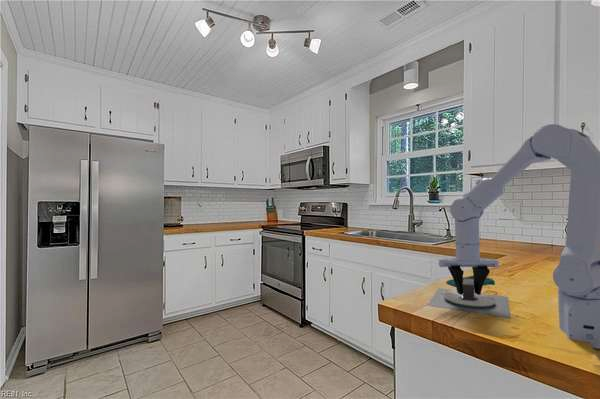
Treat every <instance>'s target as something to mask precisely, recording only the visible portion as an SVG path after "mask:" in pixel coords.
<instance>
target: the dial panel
mask: <svg viewBox="0 0 600 399" xmlns="http://www.w3.org/2000/svg"><path fill="white" fill-rule="evenodd" d="M452 290H453V289H447V288H439V287H438V288H437V289H436V291H435V292H434V294H433V296H432V297H431V299H430V300H429V301H428V303H427V306H428V307H434V308H435V307H436V308H441V309H446V310H447V309H448V310H453V311H454V310H455V311H460V312H467V313H473V314H479V315H485V316H492V317H498V318H503V319H510V320H511V319H512V318H511V310H510V301H509V296H503V295H497V294H495V295H494V294H487V293H486V294H487V295H490V296H492V297H493V298H494V299H495V305H494V306H492V307H488V308H472V307H465V306H460V305H456V304H453V303H450V302H448V301H447V300H445V298H444V293H445V292H447V291H452Z"/></svg>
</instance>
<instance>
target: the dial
mask: <svg viewBox="0 0 600 399" xmlns="http://www.w3.org/2000/svg"><path fill="white" fill-rule="evenodd" d="M463 278H464V277H463ZM451 290H452V291H447V292H445V293H444V298H445V300H447V301H448V302H450V303H453V304H456V305H460V306H465V307H472V308H488V307H492V306H494V305H495V299H494V298H493V297H492V296H490V295H491V294H489V295H487V293H483V292H481V295H477V294H476V293H475V291H474V279H466V278H464V279H463V295H461V294H459V293H457V289H451Z"/></svg>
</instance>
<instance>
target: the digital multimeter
mask: <svg viewBox="0 0 600 399" xmlns="http://www.w3.org/2000/svg"><path fill="white" fill-rule="evenodd" d="M464 278H466V279H474V275H470V276H466V277H464V276H463V279H464ZM495 282H496V281H495V280H494V279H493V278H490V277H486V279H485V281H484V284H483V286H486V285H491V286H495V285H496V283H495ZM445 283H446V284H447V285H449V286H452V287H455V288H456V285H455V282H454V279H453V278H452V279H449V280H446V282H445ZM462 284H463V282H462Z"/></svg>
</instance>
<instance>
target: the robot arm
mask: <svg viewBox="0 0 600 399" xmlns="http://www.w3.org/2000/svg"><path fill="white" fill-rule="evenodd" d="M551 159H554V160H556V161H557V162H559V163H561V165H563V166H565V167H566V168H568V169H569V170H570V182H569V195H568V206H567V207H568V209H567V220H566V236H565V245H564V246H565V247H564V248H563V250H562V252H561V255H559V256H560V257H559V263H558V265H557V266H556V267H555V268H554V271H553V273H552V279H553V282H554V283H555V285H556V287H557V292H558V295H557V296H558V297H557V298H558V301H557V302H558V326H559V327H558V328H559V330H560V331H562V332H563V333H564V334H565V335H566V337H567V339H569V340H574V341H580V342H584V343H585V342H586V343H589V344H590V345H591V347H592V348H593V349H598V350H600V150H599V149H598V148H597V147H596V145H595V143H594V142H593V141H592V140H591V137H590V136H589V135H587V134H586V133H583V132H582V131H579V130H578V129H575V128H568V127H564V126H562V125H560V124H556V123H555V124H554V123H553V124H551V123H550V124H546V125H544V126H542V127H540V128H538V129H537V130H536V131H535V132H534V134H533V136H532V135H531V136H529V137H528V138H526V140H525V141H524V142H523V144H522V145H521V146H520V147H519V149H518V150H517V151H515V153H513V155H512V156H511V157H510V158H508V160H507V161H506V162H505V163H504V164H503V165H502V166H501V167H500V168H499V169H498V170H497V171H496V172H495V173H494V175H493V176H491V177H484V178H482V179H478V180H477V181H476V182H475V186H474V187H473V188H471V190H470V191H469V192H467V193H464V194H463V196H462V197H463V198H457V199H455V200H453V202H452V204H451V205H450V208H449V210H450V211H449V212H450V214H451V217H452V218H453V219H454V234H455V235H454V237H455V240H454V241H455V258H454V257H452V258H438V266H439V267H440V268H447V269H448V270H449V273H450V275H451V276H452V280H453V279H454V282H455V285H456V287H455V288H456V290H457V293H459V294H461V295H463V284H462V282H463V278H464V270H462V268H472V274H473V275H474V291H475V293H476V294H477V295H481V293H482V290H483V286H484V285H483V284H484V281H485V279H486V278H488V276H489V274H490V270H491V269H490V268H494V269H497V268H499V267H500V265H499V260H498V259H496V258H481V250H480V249H481V248H480V247H481V246H480V219H481V217H482V216H483V214H484V211H485V209H487V208H488V207H489V206H490V205H491V204H493V203H494V202H495V201H496V200H498V198H500V197H501V196H502V195H503V194H504V186H506V185H507V184H508V183H509V182H511V181H512V180H513V179H514V178H516V177H517V176H518V175H520V174H521V173H522V172H523V171H525V170H526V169H527V168H528V167H530V166H531V165H532V164H534V163H540V162H544V161H550V160H551ZM473 275H472V276H473Z"/></svg>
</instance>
